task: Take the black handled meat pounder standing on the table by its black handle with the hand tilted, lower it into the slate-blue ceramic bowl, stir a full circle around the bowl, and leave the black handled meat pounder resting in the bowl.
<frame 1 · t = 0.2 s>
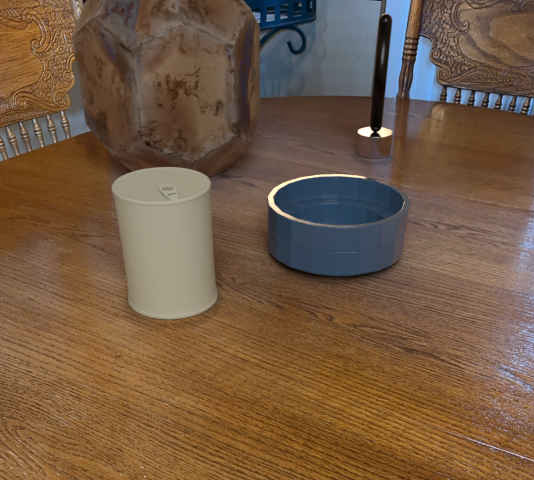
bowl: (335, 251, 80), on the table
can: (173, 299, 72), on the table
black handled meat pounder: (373, 153, 106), on the table
planter: (179, 169, 101), on the table
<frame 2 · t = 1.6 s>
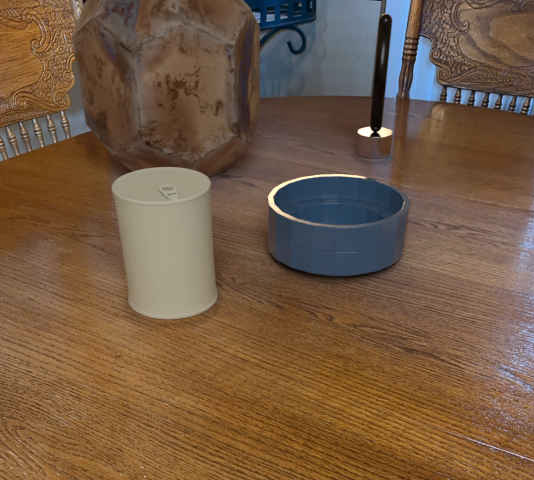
nothing on the table moved.
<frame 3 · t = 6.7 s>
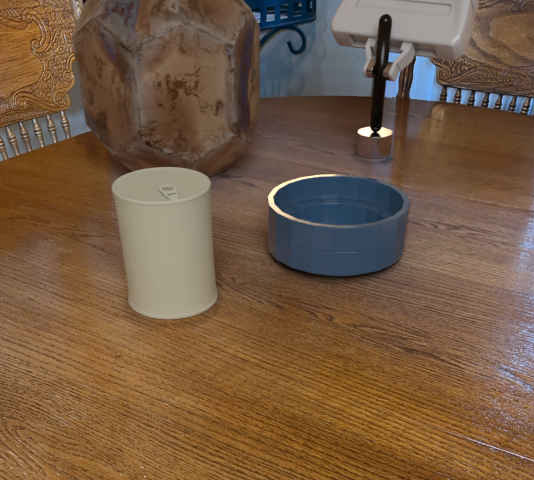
hand: (378, 76, 98), 10 cm above the table, tool tilted 45°, fingers closed on black handled meat pounder
black handled meat pounder: (373, 153, 106), on the table, touching gripper
everything else where it was.
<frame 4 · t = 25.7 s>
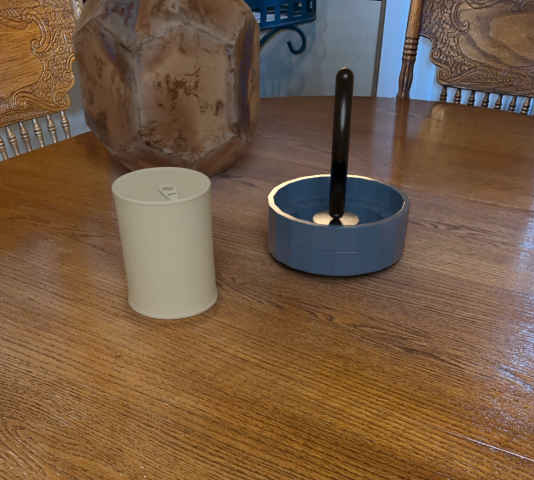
black handled meat pounder: (334, 244, 80), point 1 cm above the table, touching bowl
everything else where it was.
at the end: black handled meat pounder inside the target area in the bowl (0.1 cm from its centre), point 0.8 cm above the bowl's base; black handled meat pounder moved 35.5 cm from its start; the gripper is holding nothing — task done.
